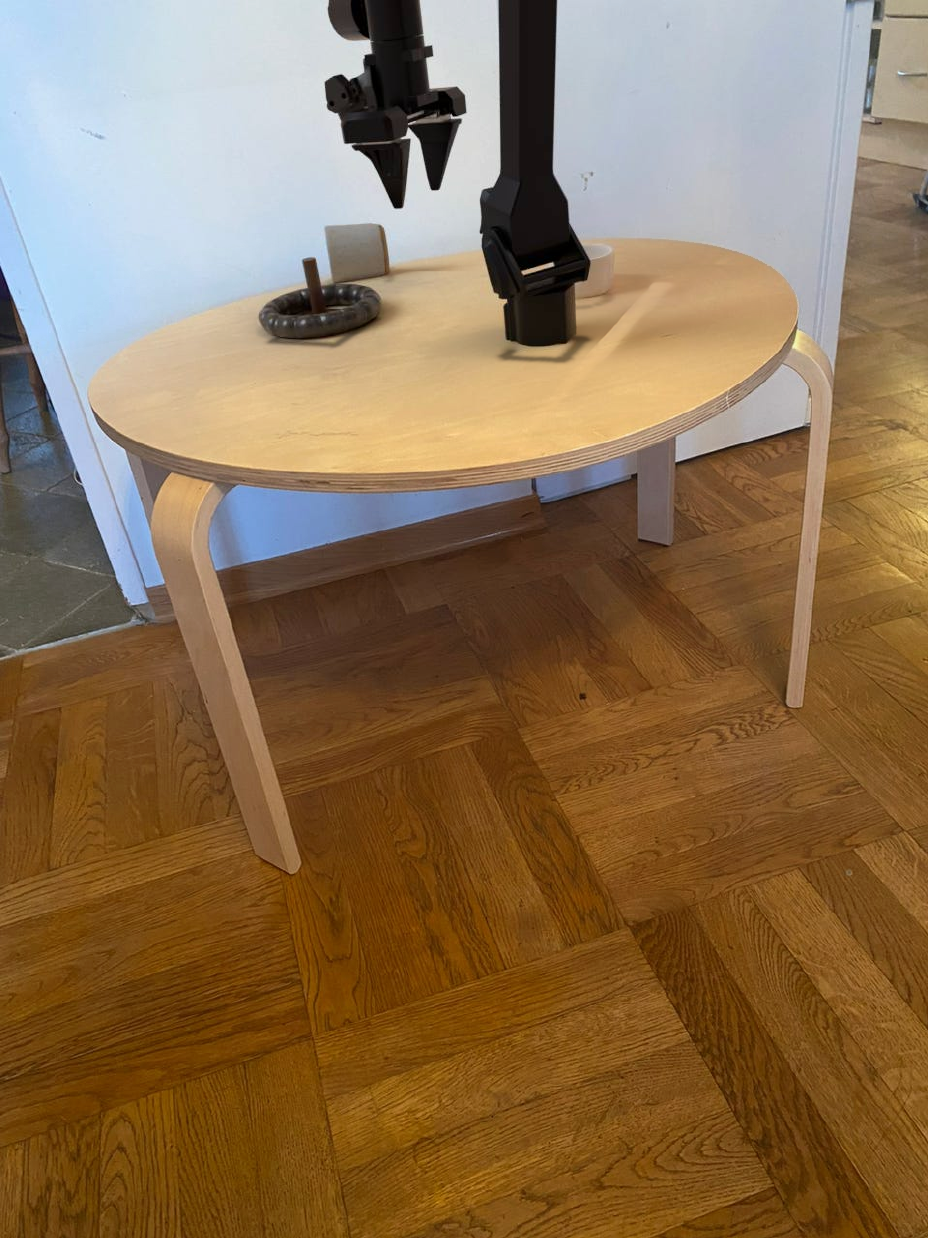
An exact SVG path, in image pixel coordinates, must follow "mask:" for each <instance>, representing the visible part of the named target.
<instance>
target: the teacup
mask: <svg viewBox="0 0 928 1238" xmlns="http://www.w3.org/2000/svg"><path fill="white" fill-rule="evenodd" d="M580 243H581V245H582V246H583V248H584V250H585V252H586V254H587V256H588V257H589V259H590V262H591V265H590V270H589V275H588V279H587V281H584V282H577V283H575V300H577V299H585V298H586V299H587V298H588V299H589V298H593V297H597V296H600V295H603V294H605V293H607V292H609V290H610V288H611V286H612V284H613V283H612V282H613V280H614V270H615V269H614V268H615V251H614V248H613V247H612V246H611V245H609V244H605V243H599V242H580ZM553 266H554V264H553V263H549V264H546V268H549V267H553Z"/></svg>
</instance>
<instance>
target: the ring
mask: <svg viewBox="0 0 928 1238" xmlns="http://www.w3.org/2000/svg"><path fill="white" fill-rule="evenodd" d="M321 287H322V292H323V297H324V302H325V307H327V306H328V307H329V306H337V305H345V307H342V308H338V309H339V310H335V311H331V312H326V313H321V314H314V315H303V316H298V315H293V314H296V313H299V312H302V311H306V310H308V309H311V308H312V307H311V302H310V297H309V292H308V288H307V287H305V288H300V289H295V290H293V291H290V292H287V293H284V294H281V295H278V296H277V297H275V298H273V299H271V300H270V301H267V302H266V303H265V304H264V306H263V307H262V308H261V310H260V311H259V313H258V321H259V323H260V326H262V328H263V330H264V331H265V332H266V333H268V334H271V335H273V336H277V337H279V338H287V339H288V338H289V339H309V338H318V337H319V338H320V337H326V336H332V335H331V334H334V335H336V334H341V333H344V332H347V331H350V330H353V329H356V328H359V327H362V326H363V325H366V324H367V323H369V322H370V321H371V320H373V319H375V318H376V317H377V316H378V315H379V312H380V310H381V308H382V303H383V301H382V297H381V295H380V294H379V293H378V292H377V291H376V290H374V289H373V288H372V287H370V286H366V285H363V284H357V283H331V284H330V283H329V284H321ZM346 305H348V306H346Z"/></svg>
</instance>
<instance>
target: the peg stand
mask: <svg viewBox="0 0 928 1238" xmlns="http://www.w3.org/2000/svg"><path fill="white" fill-rule="evenodd" d="M301 264H302V269H303V272H304V277H305V283H306V288H308V292H309V297H310V302H311V307H312V308H311V309H306V310H304V311H303V312H301V313H299V314H297V316H303V315H314V314H321V313H326V312H331V311H335V310H339V309H340V308H329V307H328V308H327V306H325V302H324V297H323V292H322V287H321V285H322V282H321V276H320V273H319V268H318V263H317V257H313V256H311V257H305V258H302V260H301ZM334 335H335V334H331V335H330V336H334Z"/></svg>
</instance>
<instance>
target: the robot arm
mask: <svg viewBox="0 0 928 1238" xmlns="http://www.w3.org/2000/svg"><path fill="white" fill-rule="evenodd" d="M497 1H498V2H497V4H498V5H497V7H498V8H497V9H498V72H499V73H498V80H499V81H498V82H499V83H498V84H499V85H498V88H499V161H500V164H499V165H500V169H499V174H498V177H497V179H496V181H495V182H494V185H493V186H491V187H487V188H483V189H482V190H481V194H480V196H479V206H480V217H481V218H480V226H479V227H480V228H479V234H480V235H481V250H482V254H483V258H484V262H485V266H486V270H487V274H488V277H489V282H490V284H491V287H492V292H493V293H494V294H496V295H498V299H499V300H506V303H504V304H503V305H502V309H503V323H504V334H505V335H504V337H505V341H510V342H511V343H514V342H515V343H518V345H521V346H525V347H533V348H539V347H542V348H543V347H550V346H555V345H567V344H568V343H569V341H571V340H572V339H573V338H574V337H575V336H576V335H577V310H576V299H575V283H577V282H584V281H587V279H588V275H589V270H590V265H591V262H590V259H589V257H588V256H587V254H586V252H585V250H584V248H583V246H582V245H581V243H582V242H581V241H580V239H579V238H578V236H577V233H576V232H575V230H574V228H573V226H572V225H571V223H570V210H569V209H570V208H569V199H568V197H567V196H566V194H565V192H564V190H563V188H562V187H561V185H560V183H559V181H558V180H557V178H556V177H557V176H556V175H555V173H554V148H555V147H554V144H555V141H554V140H555V110H556V109H555V108H556V107H555V106H556V67H557V32H558V31H557V30H558V29H557V28H558V27H557V25H558V22H557V21H558V0H497ZM327 5H328V6H327V15H328V20H329V22H330V24H331V26H332V28H333V30H334V31H335V32H336V33H337V35H338V36H339V37H341V38H342V39H345V40H347V41H351V42H359V41H361V42H362V41H370V50H371V53H367V54H363V56H364V58H363V59H362V63H363V64H362V65H363V66H362V67H363V72H362V73H361V74H359V75H358V76H356V77H351V78H350V79H348V78H347V77H346V76H345V75H344V74H342V73H340V74H336V75H333V76H331V77H329V78H327V79H326V80H325V81H324V92H325V100H326V109H327V110H328V111H329V112H332V113H334V114H337V116H338V118H339V120H340V128H341V129H340V130H341V134H342V141H343V144H345V145H348V144H349V145H350V146H351V148H352V149H353V151H356V152H360V153H361V154H362V155H364V156H365V157H366V158H367V159H368V160H370V162H371V163H372V165H373V167H374V169H375V171H376V172H377V173H376V174H377V175H378V177H379V179H380V181H381V184H382V185H383V189H384V190H385V192H386V194H387V197H388V199H389V201H390V204H391V206H392V208H393V209H395V210H400V209H403V208H404V206H405V200H406V192H407V181H408V171H409V162H410V161H409V160H410V151H411V143H412V139H411V138H405V137H407V134H408V129H409V130H410V131H411V132H412V134H413V135H414V136H415V137H416V138H417V139H418V141H419V144H420V149H421V153H422V157H423V163H424V168H425V173H426V177H427V181H428V185H429V189H430V190H431V191H434V192H435V191H436V192H437V191H439V190H440V189H441V187H442V184H443V179H444V177H445V173H446V169H447V165H448V162H449V158H450V155H451V151H452V148H453V145H454V142H455V140H456V137H457V133H458V130H459V127H460V125H462V123H463V118H460V116H462V115H465V114H467V111H468V110H467V101H466V94H465V93H464V92H463V91H462V89H460V88H459V87H458V86H446V87H434V88H433V87H432V88H430V87H431V86H430V78H429V71H428V62H427V59H428V58H432V57H434V47H433V45H432V44H430V45H426V43H425V35H424V26H423V18H422V17H423V15H422V8H421V0H328V4H327ZM456 117H459V118H456ZM549 263H553V264H554V266H553V267H549V268H547V267H546V268H543V269H539V270H535V271H532V272H529V273H525V274H523V272H524V271H527V270H531V269H535V268H538V267H542V266H545V265H546V266H547V264H549Z"/></svg>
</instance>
